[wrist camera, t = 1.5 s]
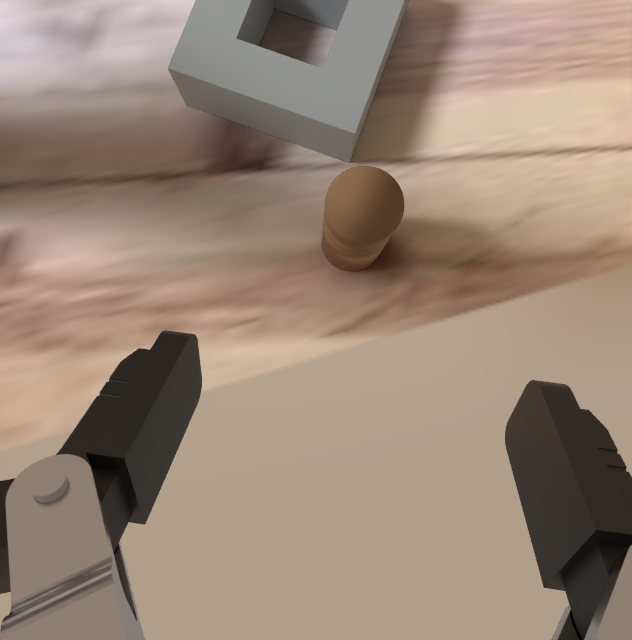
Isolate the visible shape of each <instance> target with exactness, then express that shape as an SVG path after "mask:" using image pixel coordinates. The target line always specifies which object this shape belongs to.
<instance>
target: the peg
mask: <svg viewBox="0 0 632 640" xmlns="http://www.w3.org/2000/svg"><path fill="white" fill-rule="evenodd" d="M403 212H404V197H403V193H402V191H401V188H400V186H399V185H398V183H397V182H396V181H395V179H394V178H393V177H392V176H391V175H389V174H388V173H387V172H385V171H383V170H381V169H379V168H376V167H371V166H357V167H353V168H350V169H348V170H346V171H344V172H342V173H341V174H340V175H338V176H337V177H336V178H335V180H334V181H333V182H332V184H331V185H330V187H329V189H328V192H327V195H326V202H325V214H324V225H323V237H322V247H323V251H324V254H325V256H326V258H327V259H328V260H329V262H330V263H331V264H332V265H334V266H335V267H337V268H339V269H341V270H344V271H349V272H354V271H360V270H363V269H365V268H367V267H369V266H370V265H371V264H372V263H373V262H374V261H375V260H376V258H377V257H378V255H379V254H380V252H381V251H382V249H383V248H384V246H385V245H386V243H387V242H388V240H389V238H390V237H391V235H392V234H393V232H394V231H395V229H396V228H397V226H398V225H399V223H400V221H401V219H402V216H403Z"/></svg>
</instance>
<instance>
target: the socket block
mask: <svg viewBox="0 0 632 640" xmlns="http://www.w3.org/2000/svg"><path fill="white" fill-rule="evenodd" d="M408 1H409V0H196V1H195V3H194V6H193V8H192V11H191V13H190V15H189V18H188V20H187V23H186V25H185V28H184V30H183V32H182V35H181V37H180V40H179V42H178V45H177V47H176V49H175V52H174V54H173V57H172V59H171V62H170V64H169V66H168V70H169V72H170V74H171V76H172V77H173V79H174V81H175V83H176V85H177V87H178V89H179V91H180V93H181V95H182V97H183V99H184V101H185V103H186V105H187V106H190V107H193V108H195V109H198V110H201V111H204V112H207V113H210V114H212V115H215V116H218V117H221V118H224V119H227V120H229V121H232V122H235V123H238V124H241V125H244V126H246V127H249V128H252V129H255V130H258V131H261V132H264V133H266V134H269V135H272V136H275V137H278V138H281V139H283V140H286V141H289V142H292V143H295V144H298V145H300V146H303V147H306V148H309V149H312V150H315V151H317V152H320V153H323V154H326V155H329V156H332V157H334V158H337V159H340V160H343V161H346V162H349V163H350V160H351V158H352V155H353V152H354V149H355V147H356V144H357V141H358V139H359V136H360V133H361V130H362V128H363V125H364V122H365V120H366V117H367V114H368V111H369V109H370V106H371V103H372V101H373V98H374V95H375V92H376V90H377V87H378V84H379V82H380V79H381V76H382V73H383V71H384V68H385V65H386V63H387V60H388V57H389V54H390V52H391V49H392V46H393V44H394V41H395V38H396V35H397V33H398V30H399V27H400V25H401V22H402V19H403V16H404V14H405V11H406V8H407V4H408ZM274 9H277V10H280V11H283V12H286V13H289V14H291V15H294V16H297V17H300V18H303V19H306V20H309V21H312V22H315V23H318V24H320V25H323V26H326V27H329V28H332V29H335V30H337V33H336V35H335V38H334V40H333V43H332V46H331V48H330V51H329V54H328V56H327V59H326V61H325V64H324V67H323V68H320V67H317V66H314V65H311V64H308V63H305V62H303V61H300V60H297V59H294V58H291V57H288V56H285V55H282V54H280V53H277V52H274V51H271V50H268V49H265V48H262V47H259V45H260V43H261V40H262V38H263V35H264V33H265V30H266V28H267V25H268V23H269V20H270V18H271V15H272V12H273V10H274Z"/></svg>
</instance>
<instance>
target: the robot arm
mask: <svg viewBox="0 0 632 640" xmlns="http://www.w3.org/2000/svg"><path fill="white" fill-rule="evenodd" d="M201 388H202V375H201V366H200V357H199V349H198V340H197V337H196V335H195V334H189V333H181V332H174V331H166V330H165V331H163V332H161V334H160V335H159V337H158V338H157V340H156V341H155V343H154V345H153V346H152V348H151V349H150V350H148V349H140V348H139V349H137V350H136V351H135V352H133V353H132V354H131V355H129V356H128V357H127V358H125V359H124V360H122V361H121V362H120V364H119V365H118V366H117V368H116V369H115V371H114V372H113V374H112V375H111V377H110V378H109V382H107V383H106V384H105V385H104V387H103V388H102V390H101V391H100V395H99V396H97V397H96V399H95V400H94V401H93V403H92V404H91V406H90V407H89V409H88V410H87V412H86V413H85V415H84V416H83V418H82V419H81V420H80V422H79V423H78V425H77V426H76V428H75V429H74V431H73V432H72V434H71V435H70V437H69V438H68V439H67V441H66V442H65V444H64V445H63V447H62V448H61V449H60V451H59V452H58V453H57V454H56V455H55V456H50V457H47V458H44V459H42V460H39V461H37V462H36V463H34V464H32V465H31V466H29V467H28V468H26V469H25V470H24V471H23V472H21V473H20V474H19V475H18V477H17V478H15V479H10V480H4V481H0V594H2V593H7V592H11V611H10V614H9V615H8V616H6V617H5V618H4V619H3V621H2V624H1V629H0V640H145V638H144V634H143V631H142V628H141V624H140V620H139V616H138V612H137V608H136V604H135V600H134V596H133V592H132V588H131V584H130V580H129V576H128V572H127V568H126V564H125V559H124V556H123V552H122V547H121V543H120V539H121V537H122V534H123V533H124V530H125V528H126V526H127V524H128V522H132V523H138V524H146V521H147V519H148V516H149V514H150V512H151V510H152V507H153V505H154V503H155V500H156V498H157V496H158V494H159V491H160V489H161V486H162V484H163V482H164V480H165V478H166V475H167V473H168V471H169V468H170V466H171V463H172V461H173V459H174V457H175V454H176V452H177V450H178V448H179V445H180V443H181V441H182V438H183V436H184V434H185V431H186V429H187V427H188V425H189V422H190V420H191V417H192V415H193V413H194V411H195V408H196V406H197V404H198V401H199V398H200V394H201ZM505 444H506V449H507V453H508V456H509V460H510V464H511V468H512V471H513V475H514V479H515V483H516V486H517V490H518V494H519V497H520V501H521V505H522V508H523V512H524V516H525V519H526V523H527V527H528V531H529V534H530V538H531V542H532V545H533V549H534V553H535V556H536V560H537V564H538V567H539V571H540V575H541V578H542V582H543V586H544V588H550V589H556V590H563V591H566V594H567V598H568V601H569V604H570V605H569V606H568V607H567V608H566V609H565V611H564V612H563V614H562V617H561V619H560V621H559V624H558V626H557V628H556V630H555V632H554V635H553V637H552V639H551V640H632V477H631V475H630V474H629V472H627V471H626V465H625V463H624V462H623V459H622V458H621V456H620V454H618V453H617V451H618V450H617V448H616V446H615V444H614V442H613V440H612V438H611V436H610V434H609V432H608V430H607V429H606V428H605V427H604V425H603V424H602V423H601V422H600V421H599V420H598V419H597V418H596V417H595V416H594V415H593V414H592V413H591V412H590V411H589V410H584V409H580V407H579V405H578V404H577V401H576V399H575V397H574V395H573V393H572V391H571V389H570V388H569V386H567V385H565V384H558V383H551V382H543V381H536V380H532V381H530V382H529V383H528V384H527V386H526V387H525V389H524V391H523V393H522V395H521V397H520V399H519V401H518V403H517V405H516V407H515V409H514V411H513V412H512V414H511V416H510V418H509V420H508V423H507V426H506V431H505Z"/></svg>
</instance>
